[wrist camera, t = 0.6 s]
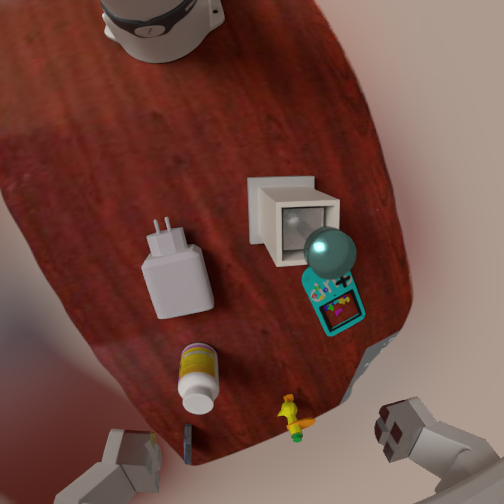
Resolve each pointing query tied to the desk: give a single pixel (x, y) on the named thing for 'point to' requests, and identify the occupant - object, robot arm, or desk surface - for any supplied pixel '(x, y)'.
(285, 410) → the toy figure
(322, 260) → the plunger
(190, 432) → the mini dv tape
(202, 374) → the supplement bottle
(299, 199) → the press housing
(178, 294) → the charger
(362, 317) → the handheld gaming console
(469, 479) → the robot arm
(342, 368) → the desk surface
